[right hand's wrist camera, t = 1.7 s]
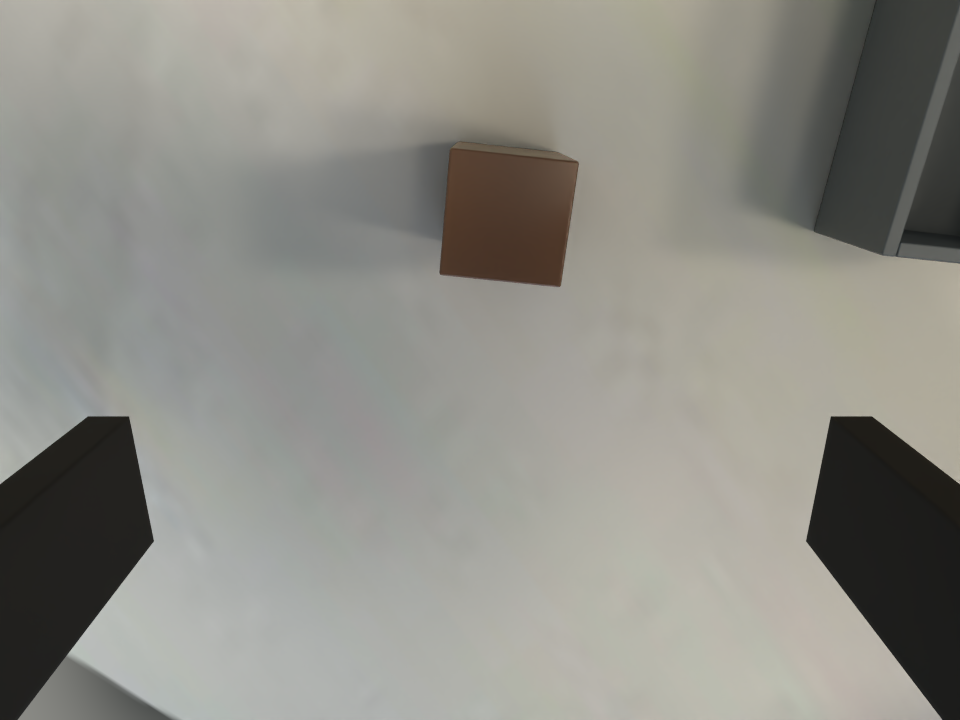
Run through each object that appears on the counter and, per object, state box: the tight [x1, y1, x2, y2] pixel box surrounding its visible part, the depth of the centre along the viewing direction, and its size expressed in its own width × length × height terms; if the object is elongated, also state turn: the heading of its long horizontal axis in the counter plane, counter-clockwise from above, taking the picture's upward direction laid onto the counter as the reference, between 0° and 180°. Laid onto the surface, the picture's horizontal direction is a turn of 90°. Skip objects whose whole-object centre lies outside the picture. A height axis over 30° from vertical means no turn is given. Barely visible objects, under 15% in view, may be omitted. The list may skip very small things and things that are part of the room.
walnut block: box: [440, 142, 579, 287], centre depth 24 cm, size 4×4×6 cm
